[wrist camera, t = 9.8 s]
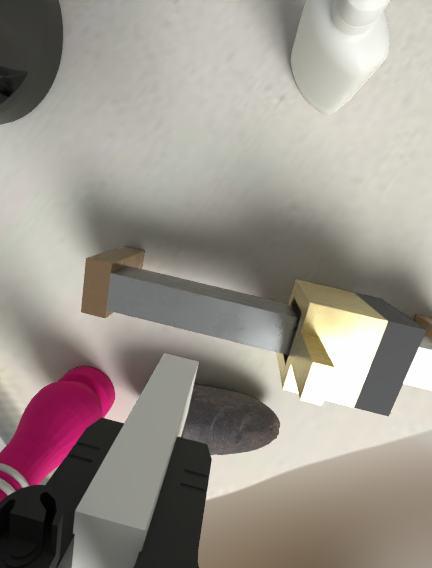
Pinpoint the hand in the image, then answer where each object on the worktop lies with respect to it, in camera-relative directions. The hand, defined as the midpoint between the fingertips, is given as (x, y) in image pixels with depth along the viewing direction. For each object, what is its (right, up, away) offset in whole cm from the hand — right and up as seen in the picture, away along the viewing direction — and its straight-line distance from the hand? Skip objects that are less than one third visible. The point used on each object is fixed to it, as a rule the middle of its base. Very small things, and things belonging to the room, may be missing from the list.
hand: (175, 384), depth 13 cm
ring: (+14, 0, +13) cm, 19 cm away
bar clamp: (+7, +2, +16) cm, 18 cm away
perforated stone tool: (+1, -8, +20) cm, 21 cm away
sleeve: (+10, +1, +14) cm, 17 cm away
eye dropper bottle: (+10, +21, +11) cm, 25 cm away
